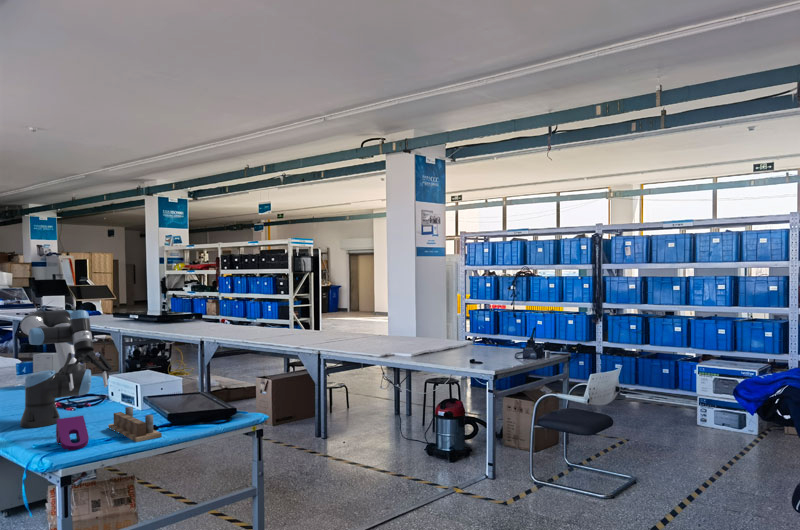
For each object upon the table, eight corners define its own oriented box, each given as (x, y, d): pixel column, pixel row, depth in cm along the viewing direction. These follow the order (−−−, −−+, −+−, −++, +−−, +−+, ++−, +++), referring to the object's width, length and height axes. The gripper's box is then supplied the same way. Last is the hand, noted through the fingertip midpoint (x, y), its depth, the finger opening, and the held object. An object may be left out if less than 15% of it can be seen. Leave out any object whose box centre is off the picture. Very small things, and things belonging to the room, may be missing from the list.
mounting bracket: (88, 460, 226) (81, 432, 239) (90, 443, 223) (83, 415, 236) (61, 465, 220) (55, 436, 233) (62, 448, 217) (56, 419, 230)
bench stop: (108, 427, 252) (108, 408, 252) (132, 423, 259) (131, 404, 259) (136, 442, 229) (136, 420, 229) (161, 436, 236) (161, 416, 236)
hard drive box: (63, 385, 355) (62, 353, 355) (52, 387, 348) (52, 354, 348) (43, 384, 359) (43, 352, 360) (32, 386, 352) (32, 354, 352)
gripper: (53, 340, 244) (59, 387, 236) (115, 338, 262) (122, 381, 254) (49, 348, 249) (54, 394, 240) (110, 345, 266) (116, 388, 258)
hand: (89, 387), depth 247 cm, fingers open, 13 cm apart
